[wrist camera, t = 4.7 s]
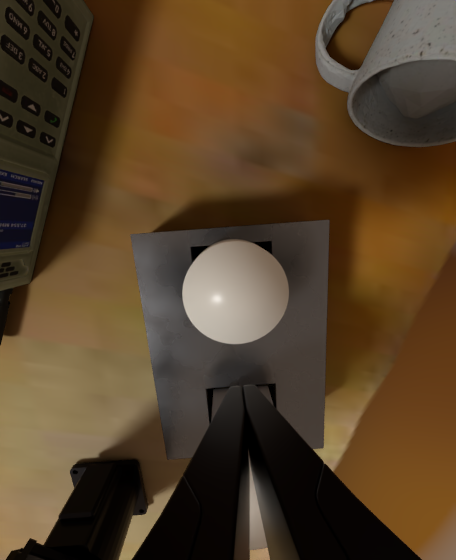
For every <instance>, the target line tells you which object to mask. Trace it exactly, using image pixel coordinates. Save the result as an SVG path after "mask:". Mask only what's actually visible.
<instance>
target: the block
mask: <svg viewBox="0 0 456 560" xmlns="http://www.w3.org/2000/svg"><path fill="white" fill-rule="evenodd" d="M371 1H374V0H333V1H332V3H331V4H330V5H329V7H328V8H327V10H326V12H325V14H324V16H323V18H322V20H321V22H320V24H319V28H318V31H317V35H316V64H317V67H318V69H319V72H320V74H321V76H322V77H323V79H324V80H325V81H326V82H328V83H329V84H331V85H333V86H334V87H336V88H338V89H340V90H342V91H345V92H348V93H349V95H348V100H347V108H348V113H349V116H350V117H351V119H352V121H353V122H354V124H355V125H356V126H357V127H358V128H359V129H360V130H362V131H363V132H364V133H366V134H368V135H369V136H371V137H373V138H375V139H377V140H380V141H383V142H385V143H389V144H393V145H397V146H408V147H428V146H436V145H442V144H447V143H451V142H455V141H456V0H394V2H393V4H392V6H391V8H390V10H389V13H388V15H387V16H386V18H385V20H384V22H383V25H382V27H381V29H380V30H379V32H378V34H377V36H376V38H375V40H374V42H373V44H372V46H371V48H370V50H369V52H368V54H367V56H366V58H365V59H364V62H363V64H362V66H361V68H360V69H358V70H350V69H348V68H346V67H344V66H343V65H341V64H339V63H337V62H336V61H335V60H333V59H332V58H331V57H330V56H329V54H328V52H327V50H326V46H327V44H328V43H329V41H330V39H331V37H332V34H333V33H334V31H335V29H336V28H337V26H338V25H339V24H340V23H341V22H342V21H343V20H344V18H345V15H346V13H347V12H348V11H349V10H351V9H353V8H355V7H357V6H359V5H360V4H363V3H367V2H371Z"/></svg>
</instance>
